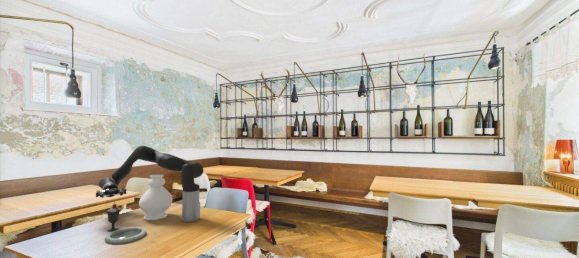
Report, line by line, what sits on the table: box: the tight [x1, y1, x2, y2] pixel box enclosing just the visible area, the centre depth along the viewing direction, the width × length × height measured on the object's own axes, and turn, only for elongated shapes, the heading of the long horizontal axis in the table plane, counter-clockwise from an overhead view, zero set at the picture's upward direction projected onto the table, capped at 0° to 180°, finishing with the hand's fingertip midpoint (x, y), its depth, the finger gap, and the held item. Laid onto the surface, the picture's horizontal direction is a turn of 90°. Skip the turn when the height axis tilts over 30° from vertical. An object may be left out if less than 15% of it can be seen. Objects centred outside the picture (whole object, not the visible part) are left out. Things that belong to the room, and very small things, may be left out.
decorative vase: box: [138, 173, 173, 221], centre depth 150 cm, size 18×18×25 cm
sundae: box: [105, 201, 122, 233], centre depth 128 cm, size 7×7×15 cm
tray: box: [104, 226, 147, 245], centre depth 120 cm, size 17×17×2 cm
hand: (112, 195), depth 137 cm, fingers open, 8 cm apart
